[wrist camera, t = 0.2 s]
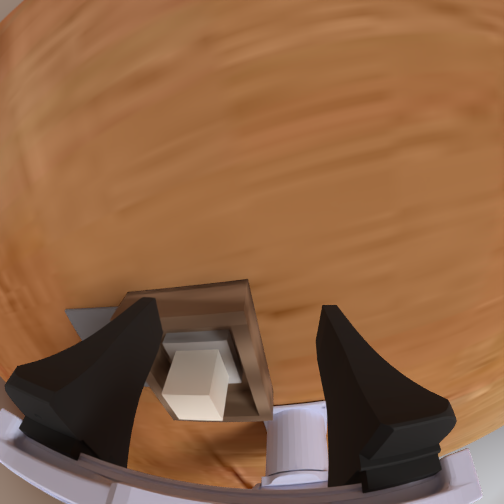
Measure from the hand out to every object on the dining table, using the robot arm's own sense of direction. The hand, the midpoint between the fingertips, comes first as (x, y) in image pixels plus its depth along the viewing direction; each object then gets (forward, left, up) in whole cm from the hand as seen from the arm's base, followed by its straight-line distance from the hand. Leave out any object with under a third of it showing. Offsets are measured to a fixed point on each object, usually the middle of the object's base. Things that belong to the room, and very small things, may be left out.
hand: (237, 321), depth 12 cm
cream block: (-11, +7, -8) cm, 15 cm away
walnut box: (-11, +7, -10) cm, 16 cm away
